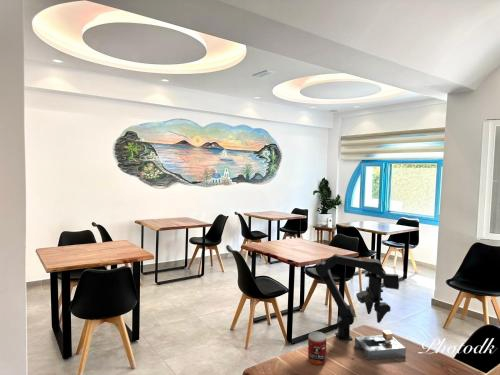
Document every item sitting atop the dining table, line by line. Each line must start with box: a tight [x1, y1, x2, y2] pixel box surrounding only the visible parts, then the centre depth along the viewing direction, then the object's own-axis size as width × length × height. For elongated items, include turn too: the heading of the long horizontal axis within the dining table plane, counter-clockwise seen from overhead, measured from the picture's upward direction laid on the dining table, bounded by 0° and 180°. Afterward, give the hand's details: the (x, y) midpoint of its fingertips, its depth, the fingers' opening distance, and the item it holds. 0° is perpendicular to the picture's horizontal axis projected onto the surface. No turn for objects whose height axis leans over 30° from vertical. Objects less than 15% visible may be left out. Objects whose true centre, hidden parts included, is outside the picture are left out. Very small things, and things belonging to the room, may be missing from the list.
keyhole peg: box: [382, 329, 394, 344], centre depth 149 cm, size 4×4×8 cm
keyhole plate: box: [354, 334, 407, 361], centre depth 148 cm, size 12×18×4 cm, turn 98°
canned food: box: [307, 331, 327, 366], centre depth 141 cm, size 8×8×11 cm
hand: (373, 318), depth 155 cm, fingers open, 9 cm apart
